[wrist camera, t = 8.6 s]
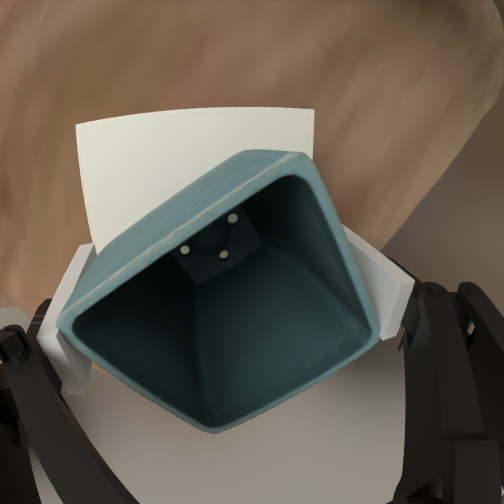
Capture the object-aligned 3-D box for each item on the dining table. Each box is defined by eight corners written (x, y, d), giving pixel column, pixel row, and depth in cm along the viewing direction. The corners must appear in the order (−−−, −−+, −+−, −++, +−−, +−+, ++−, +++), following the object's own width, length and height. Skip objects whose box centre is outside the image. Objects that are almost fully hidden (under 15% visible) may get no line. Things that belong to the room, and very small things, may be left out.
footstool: (104, 120, 20) (75, 124, 13) (272, 108, 23) (314, 109, 16) (126, 272, 26) (116, 327, 20) (269, 255, 30) (300, 301, 23)
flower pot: (190, 320, 19) (213, 439, 12) (99, 220, 15) (46, 327, 7) (303, 247, 19) (386, 340, 11) (232, 125, 14) (307, 143, 7)
